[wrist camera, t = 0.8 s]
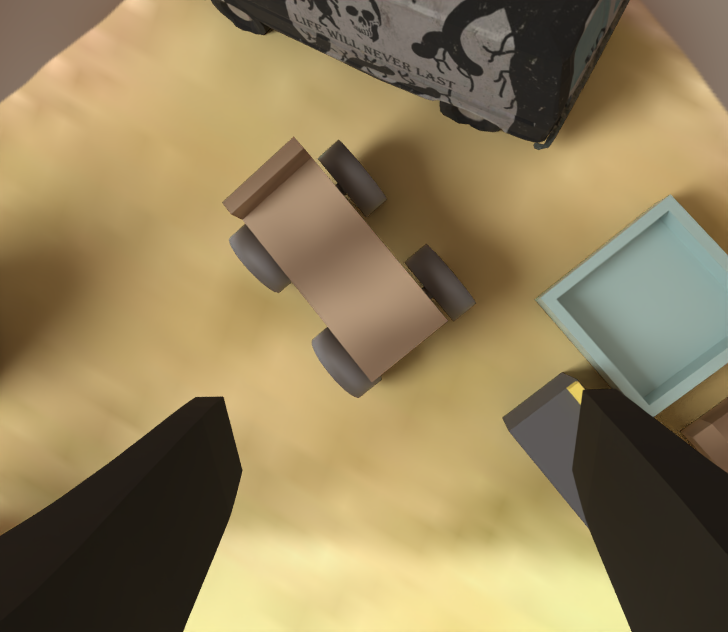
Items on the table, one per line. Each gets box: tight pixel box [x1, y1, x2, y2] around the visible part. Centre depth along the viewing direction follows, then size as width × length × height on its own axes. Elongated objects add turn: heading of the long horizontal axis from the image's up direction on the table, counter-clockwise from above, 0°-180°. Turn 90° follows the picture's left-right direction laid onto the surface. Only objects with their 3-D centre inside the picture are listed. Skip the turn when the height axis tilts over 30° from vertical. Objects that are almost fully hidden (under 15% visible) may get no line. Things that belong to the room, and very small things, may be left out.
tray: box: [535, 194, 728, 417], centre depth 28 cm, size 9×9×2 cm
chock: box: [503, 373, 589, 528], centre depth 27 cm, size 7×4×5 cm, turn 39°
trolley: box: [222, 137, 476, 398], centre depth 28 cm, size 12×9×7 cm
